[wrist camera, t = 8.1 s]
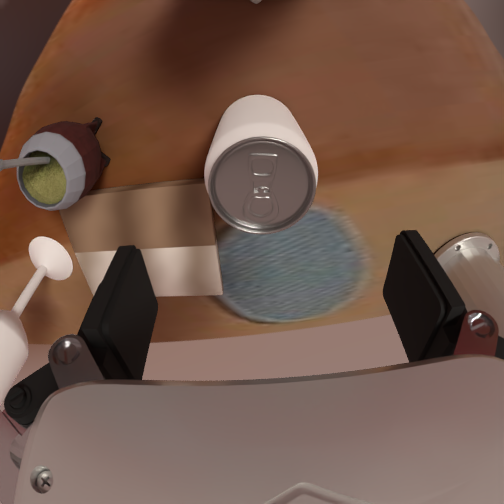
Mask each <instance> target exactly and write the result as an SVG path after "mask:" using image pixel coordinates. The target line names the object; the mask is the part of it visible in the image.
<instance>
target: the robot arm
mask: <svg viewBox="0 0 504 504" xmlns="http://www.w3.org/2000/svg"><path fill="white" fill-rule="evenodd" d="M499 259H500V258H499V250H498V247H497V245H496V244H495V242H494V241H493V240H492V239H491V238H490V237H489V236H487V235H486V234H483V233H479V232H476V233H468V234H463V235H461V236H459V237H456V238H454V239H453V240H451V241H450V242H448V243H447V244H445V245H444V246H443V247H442V248H440V249H439V250H438V251H437V252H436V253H435V254H433V253H432V251H431V250H430V248H429V247H428V246H427V244H426V243H425V241H424V240H423V238H422V237H421V236H420V234H419V233H418V232H417V231H416V230H406V231H401V233H400V235H397V236H396V239H395V244H394V248H393V252H392V256H391V260H390V264H389V268H388V272H387V276H386V280H385V284H384V287H383V297H384V299H385V302H386V304H387V306H388V309H389V311H390V314H391V316H392V319H393V321H394V324H395V326H396V329H397V331H398V334H399V336H400V338H401V341H402V344H403V347H404V349H405V352H406V354H407V357H408V360H409V363H404V364H397V365H391V366H385V367H378V368H372V369H364V370H357V371H349V372H341V373H332V374H322V375H312V376H302V377H289V378H274V379H256V380H231V381H230V380H229V381H160V380H142V376H143V372H144V366H145V362H146V358H147V353H148V349H149V344H150V340H151V336H152V332H153V328H154V323H155V319H156V315H157V311H158V303H157V299H156V296H155V293H154V290H153V287H152V284H151V281H150V278H149V275H148V272H147V269H146V265H145V262H144V259H143V256H142V252H141V250H140V249H136V247H135V245H126V246H119V247H118V249H117V251H116V253H115V255H114V257H113V259H112V261H111V263H110V265H109V267H108V269H107V271H106V274H105V276H104V278H103V280H102V282H101V283H100V284H99V286H98V288H97V290H96V292H95V294H94V297H93V299H92V301H91V303H90V306H89V308H88V310H87V313H86V315H85V317H84V320H83V322H82V324H81V327H80V329H79V332H78V334H77V335H74V334H70V335H65V336H63V337H60V338H59V339H58V340H56V341H55V342H54V343H53V345H52V346H51V348H50V350H49V353H48V360H49V363H48V364H46V365H45V366H43V367H42V368H40V369H39V370H37V371H36V372H34V373H33V374H31V375H30V376H28V377H27V378H25V379H23V380H22V381H20V382H19V383H18V384H16V385H14V386H13V387H12V388H11V389H10V390H9V391H8V393H7V395H6V397H5V401H4V407H5V409H4V410H3V412H2V411H1V410H0V501H1V503H2V504H504V268H503V266H502V265H501V264H500V262H499Z"/></svg>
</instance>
